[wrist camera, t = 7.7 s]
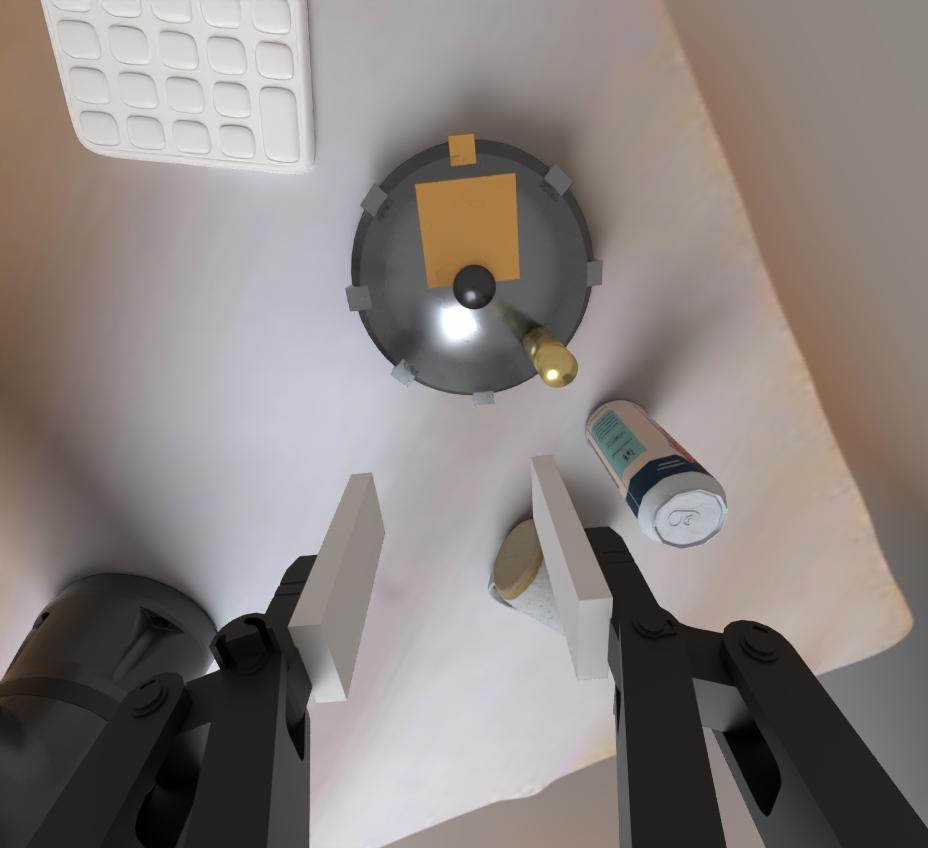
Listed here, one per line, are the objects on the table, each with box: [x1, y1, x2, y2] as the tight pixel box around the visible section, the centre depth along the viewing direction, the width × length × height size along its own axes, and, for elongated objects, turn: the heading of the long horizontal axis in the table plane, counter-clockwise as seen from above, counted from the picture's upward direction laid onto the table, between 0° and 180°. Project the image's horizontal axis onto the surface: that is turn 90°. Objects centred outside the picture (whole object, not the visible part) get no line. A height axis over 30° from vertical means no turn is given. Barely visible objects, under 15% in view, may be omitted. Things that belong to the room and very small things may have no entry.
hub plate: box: [351, 140, 593, 395], centre depth 29 cm, size 16×16×1 cm
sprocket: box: [345, 133, 603, 405], centre depth 25 cm, size 16×16×8 cm
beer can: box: [585, 400, 728, 550], centre depth 28 cm, size 5×5×12 cm
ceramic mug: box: [488, 519, 566, 637], centre depth 36 cm, size 11×8×8 cm
